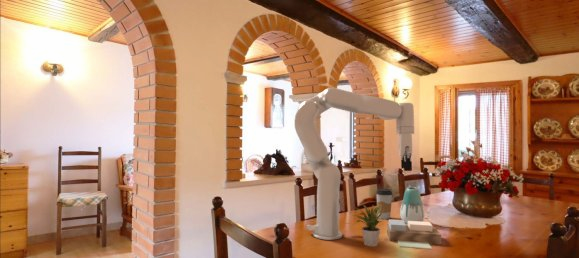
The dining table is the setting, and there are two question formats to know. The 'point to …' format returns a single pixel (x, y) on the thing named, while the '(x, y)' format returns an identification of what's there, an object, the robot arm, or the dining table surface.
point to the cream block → (419, 226)
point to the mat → (414, 244)
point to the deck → (415, 235)
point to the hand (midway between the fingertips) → (406, 169)
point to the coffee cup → (384, 202)
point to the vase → (412, 206)
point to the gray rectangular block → (397, 225)
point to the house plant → (370, 226)
